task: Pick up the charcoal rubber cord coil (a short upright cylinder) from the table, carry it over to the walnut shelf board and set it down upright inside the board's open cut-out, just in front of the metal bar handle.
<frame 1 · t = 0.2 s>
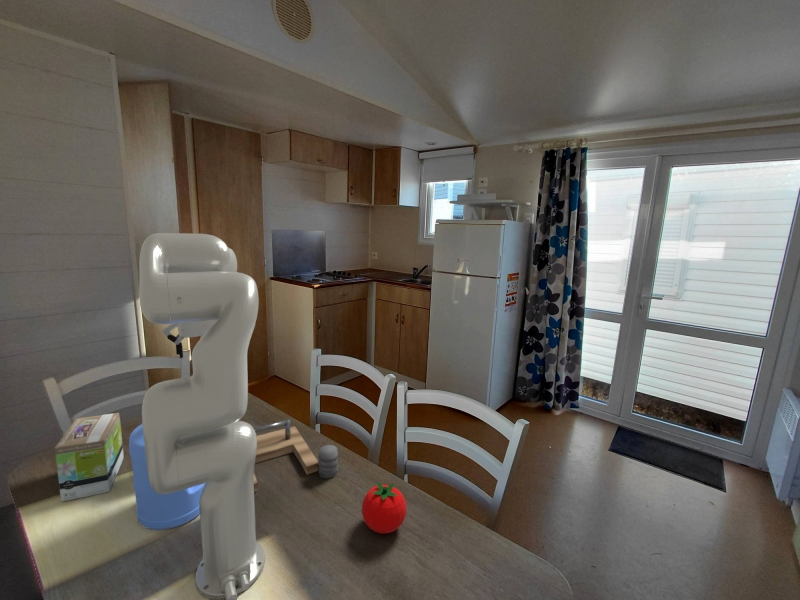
hand: (200, 353, 105), 31 cm above the table, fingers open, 9 cm apart
tea box: (95, 479, 98), on the table
tomato: (383, 526, 87), on the table
metal bar handle: (268, 451, 112), resting on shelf
water jug: (176, 506, 90), on the table
coil: (328, 472, 104), on the table
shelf: (272, 460, 108), on the table
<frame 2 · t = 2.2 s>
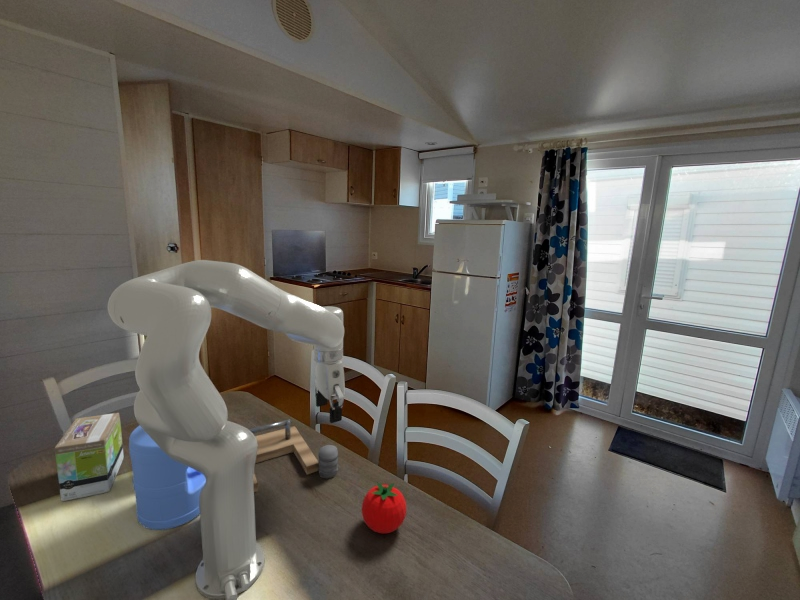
hand: (328, 413, 100), 18 cm above the table, fingers open, 9 cm apart
nothing on the table moved.
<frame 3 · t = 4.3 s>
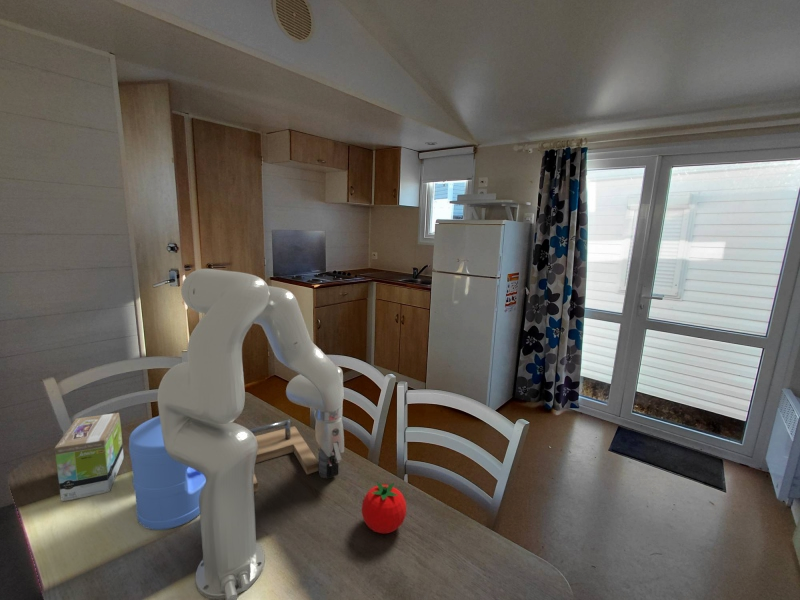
hand: (328, 469, 104), 1 cm above the table, fingers closed on coil, 5 cm apart
coil: (328, 472, 104), on the table, touching gripper
everything else where it was.
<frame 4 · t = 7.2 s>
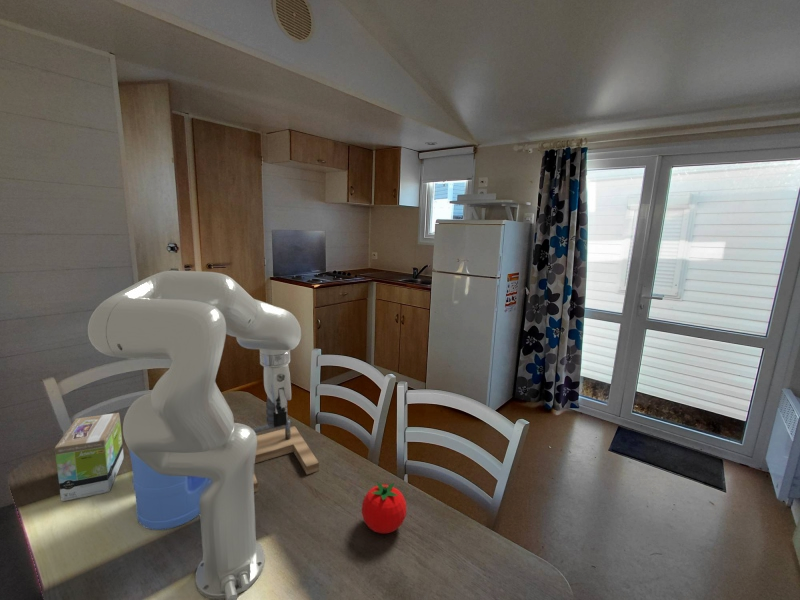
hand: (277, 419, 100), 16 cm above the table, fingers closed on coil, 5 cm apart
coil: (277, 422, 100), point 15 cm above the table, touching gripper
everything else where it was.
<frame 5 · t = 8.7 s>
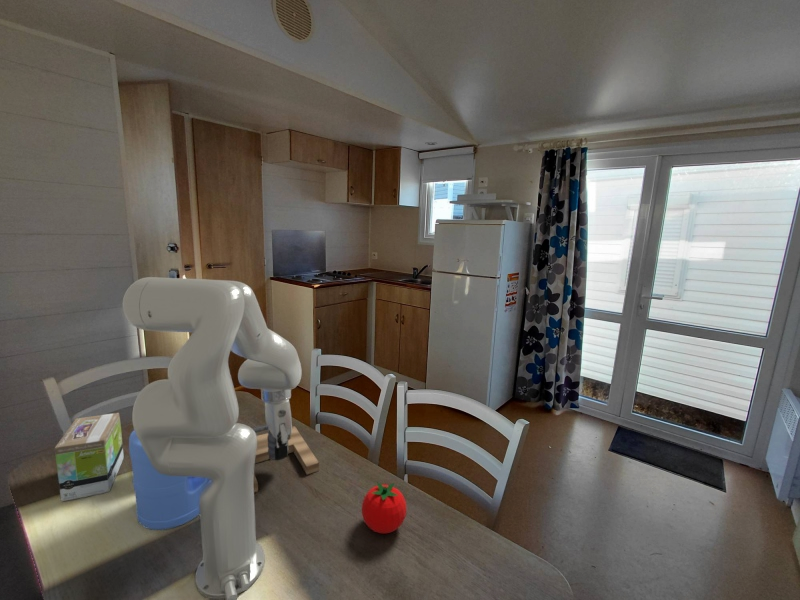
hand: (278, 451, 102), 6 cm above the table, fingers closed on coil, 5 cm apart
coil: (278, 454, 103), point 5 cm above the table, touching gripper
everything else where it was.
when the fingers open (2 cm above the table, at t = 9.9 s): coil drops 1 cm, on the table.
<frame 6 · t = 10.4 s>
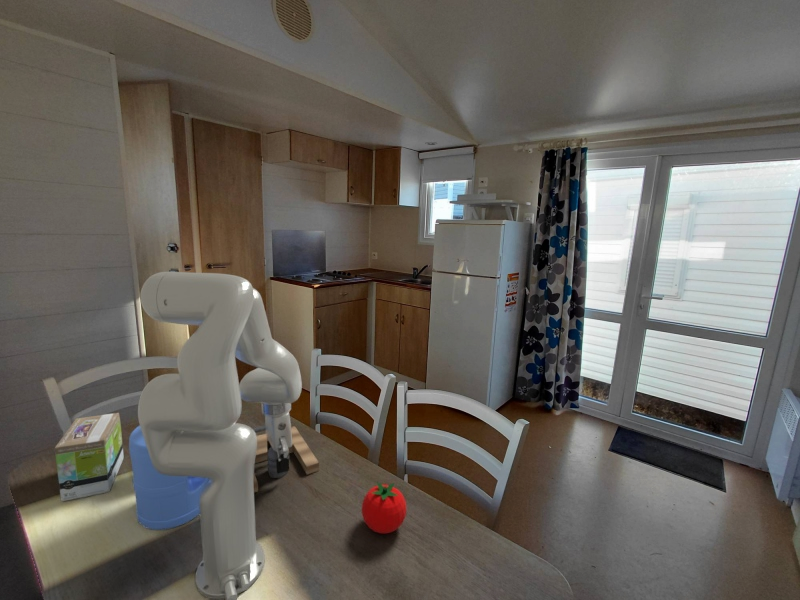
hand: (278, 461, 103), 3 cm above the table, fingers open, 9 cm apart
coil: (278, 472, 103), on the table
everything else where it was.
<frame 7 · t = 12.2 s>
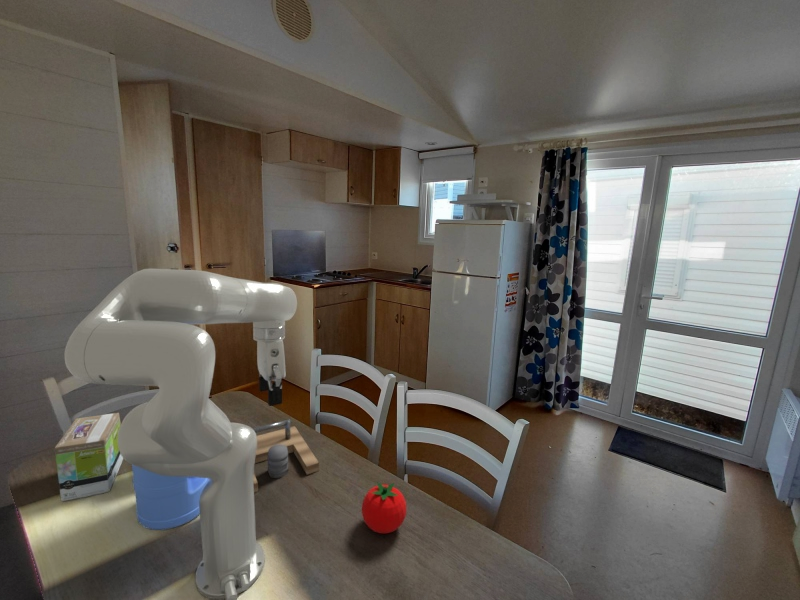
hand: (270, 397, 95), 24 cm above the table, fingers open, 9 cm apart
nothing on the table moved.
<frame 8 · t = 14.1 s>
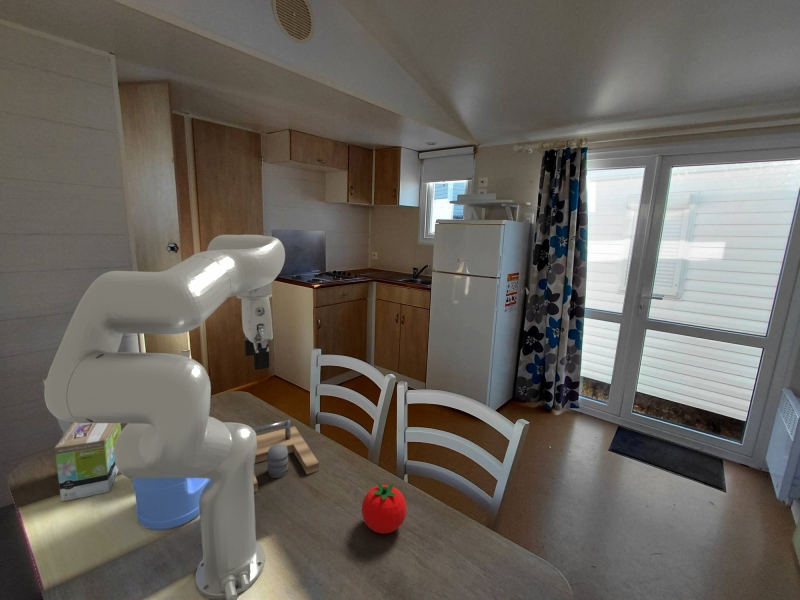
hand: (256, 361, 87), 36 cm above the table, fingers open, 9 cm apart
nothing on the table moved.
at the end: coil inside the target area (0.5 cm from its centre), on the table; coil tilted 0°; the gripper is holding nothing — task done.
